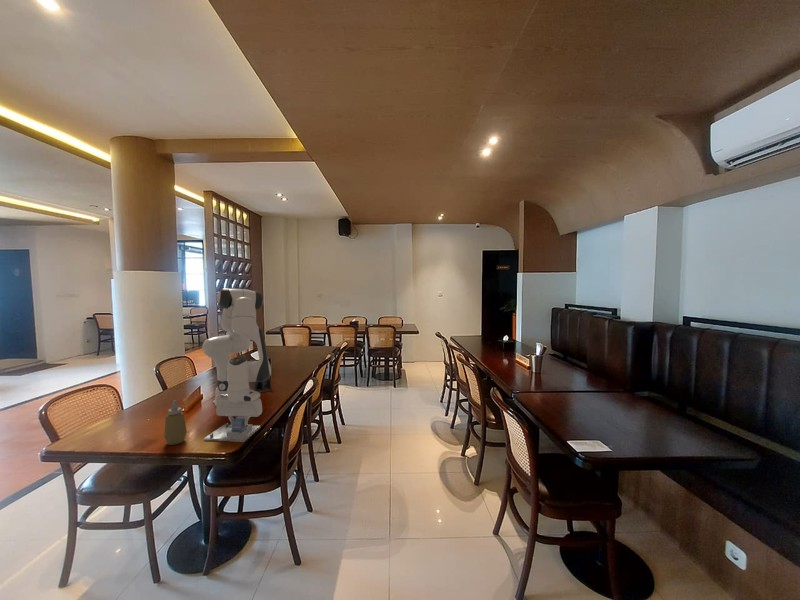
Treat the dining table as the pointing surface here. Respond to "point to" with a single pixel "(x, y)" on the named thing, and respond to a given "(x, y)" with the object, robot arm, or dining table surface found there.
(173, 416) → the squeeze bottle
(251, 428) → the chassis
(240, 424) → the servo
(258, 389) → the letter holder
